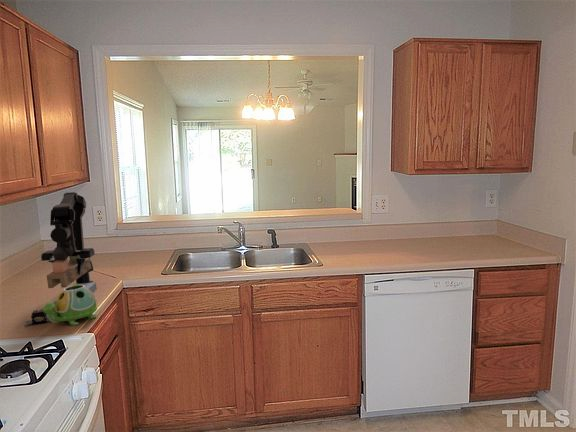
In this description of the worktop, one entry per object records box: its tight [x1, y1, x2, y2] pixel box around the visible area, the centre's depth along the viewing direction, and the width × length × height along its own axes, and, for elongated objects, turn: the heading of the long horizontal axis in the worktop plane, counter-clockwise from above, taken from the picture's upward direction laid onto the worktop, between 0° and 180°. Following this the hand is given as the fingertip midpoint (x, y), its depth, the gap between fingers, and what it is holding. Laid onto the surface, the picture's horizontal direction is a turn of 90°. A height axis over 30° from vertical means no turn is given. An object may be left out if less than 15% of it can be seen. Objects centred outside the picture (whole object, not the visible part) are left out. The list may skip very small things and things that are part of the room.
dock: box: [51, 282, 98, 313], centre depth 174 cm, size 25×9×3 cm, turn 5°
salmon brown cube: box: [51, 259, 69, 273], centre depth 165 cm, size 4×4×4 cm
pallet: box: [46, 257, 92, 289], centre depth 173 cm, size 24×6×5 cm, turn 3°
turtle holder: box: [42, 284, 98, 326], centre depth 152 cm, size 12×18×12 cm
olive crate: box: [69, 250, 81, 263], centre depth 179 cm, size 4×4×4 cm
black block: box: [23, 308, 53, 328], centre depth 154 cm, size 12×7×5 cm, turn 109°
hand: (71, 274), depth 173 cm, fingers closed on pallet, 6 cm apart
